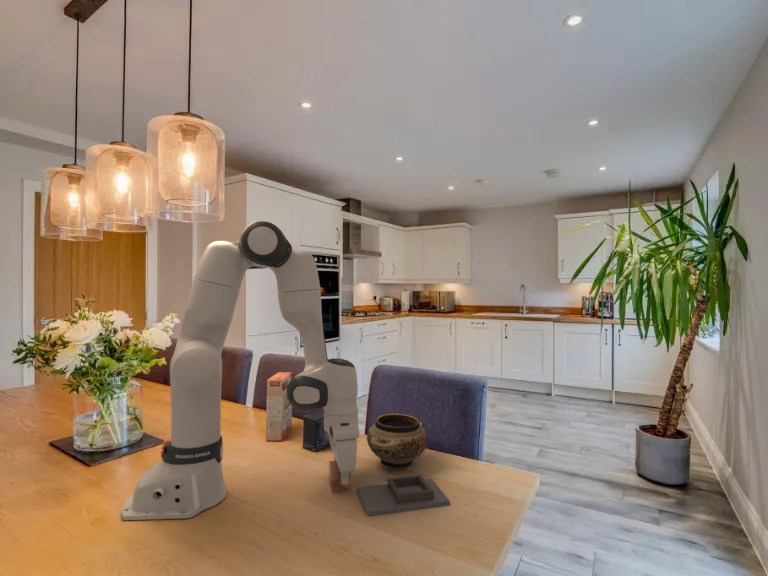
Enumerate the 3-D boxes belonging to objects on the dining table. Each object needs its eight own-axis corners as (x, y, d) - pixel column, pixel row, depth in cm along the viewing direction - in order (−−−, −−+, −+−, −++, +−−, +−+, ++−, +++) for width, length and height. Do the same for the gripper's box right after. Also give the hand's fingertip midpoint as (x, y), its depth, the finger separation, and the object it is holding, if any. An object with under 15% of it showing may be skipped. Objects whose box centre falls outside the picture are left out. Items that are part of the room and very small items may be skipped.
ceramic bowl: (393, 495, 107) (405, 443, 105) (342, 463, 117) (353, 414, 115) (435, 463, 127) (446, 418, 126) (389, 438, 137) (399, 396, 135)
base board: (367, 516, 92) (367, 502, 92) (357, 490, 104) (357, 479, 104) (449, 504, 97) (449, 492, 97) (431, 482, 109) (431, 470, 109)
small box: (315, 453, 128) (316, 419, 128) (301, 448, 132) (301, 415, 132) (339, 443, 137) (339, 411, 137) (325, 439, 141) (325, 408, 141)
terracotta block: (331, 493, 103) (331, 469, 103) (329, 484, 108) (329, 461, 108) (351, 491, 104) (351, 467, 104) (348, 482, 109) (348, 459, 109)
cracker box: (283, 441, 138) (283, 379, 138) (265, 441, 138) (265, 379, 138) (293, 428, 152) (293, 371, 152) (277, 427, 152) (277, 371, 152)
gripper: (323, 411, 116) (324, 460, 116) (334, 436, 96) (334, 495, 96) (346, 409, 117) (346, 457, 117) (360, 433, 98) (361, 491, 98)
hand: (341, 474), depth 106 cm, fingers open, 8 cm apart
